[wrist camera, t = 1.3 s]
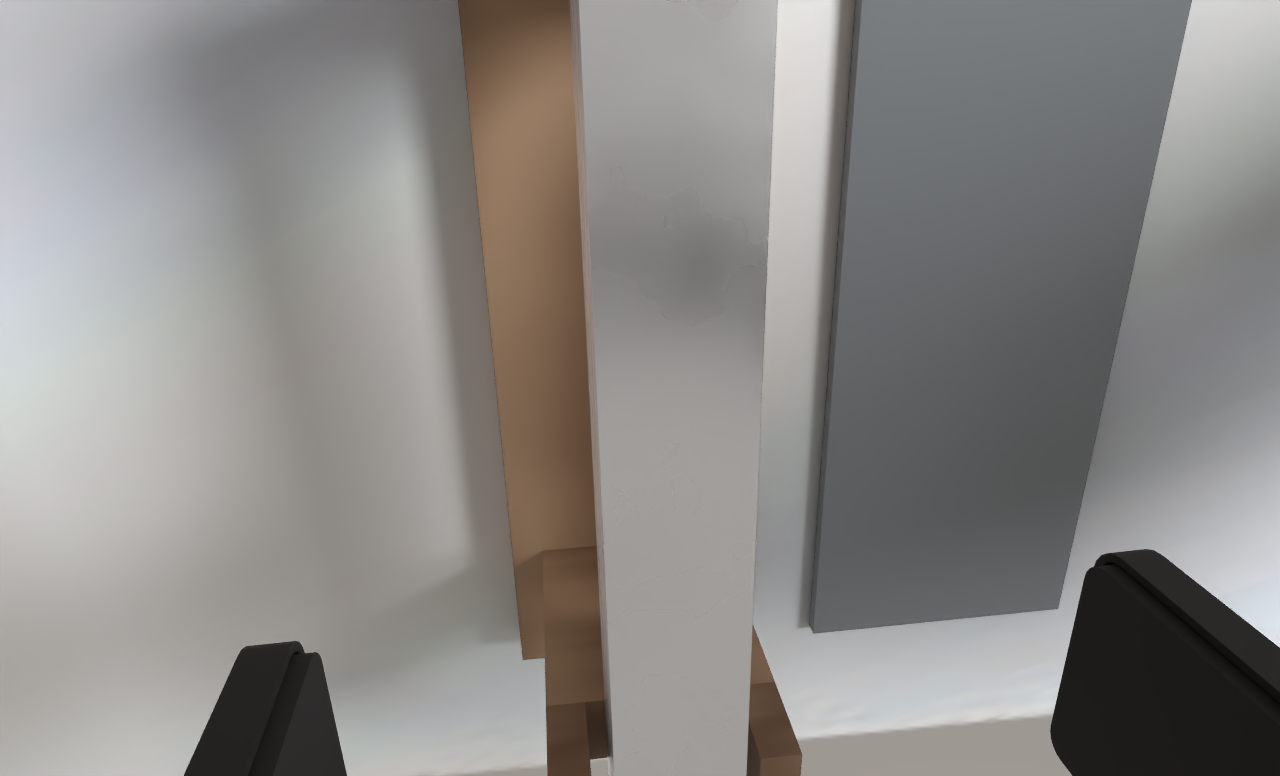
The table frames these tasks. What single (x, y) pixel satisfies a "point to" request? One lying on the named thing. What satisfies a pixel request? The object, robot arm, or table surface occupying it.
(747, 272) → the steel rail
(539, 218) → the walnut rail stand
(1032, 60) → the rubber mat
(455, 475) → the table surface
